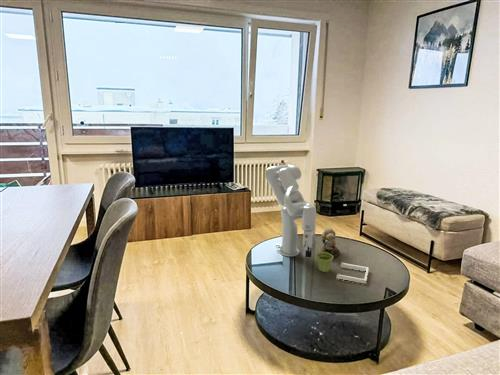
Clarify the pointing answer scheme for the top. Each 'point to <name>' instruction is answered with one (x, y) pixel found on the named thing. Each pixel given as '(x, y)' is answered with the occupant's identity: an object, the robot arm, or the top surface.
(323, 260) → the plant pot
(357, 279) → the white u-shaped block
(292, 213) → the robot arm
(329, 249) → the seated figurine
